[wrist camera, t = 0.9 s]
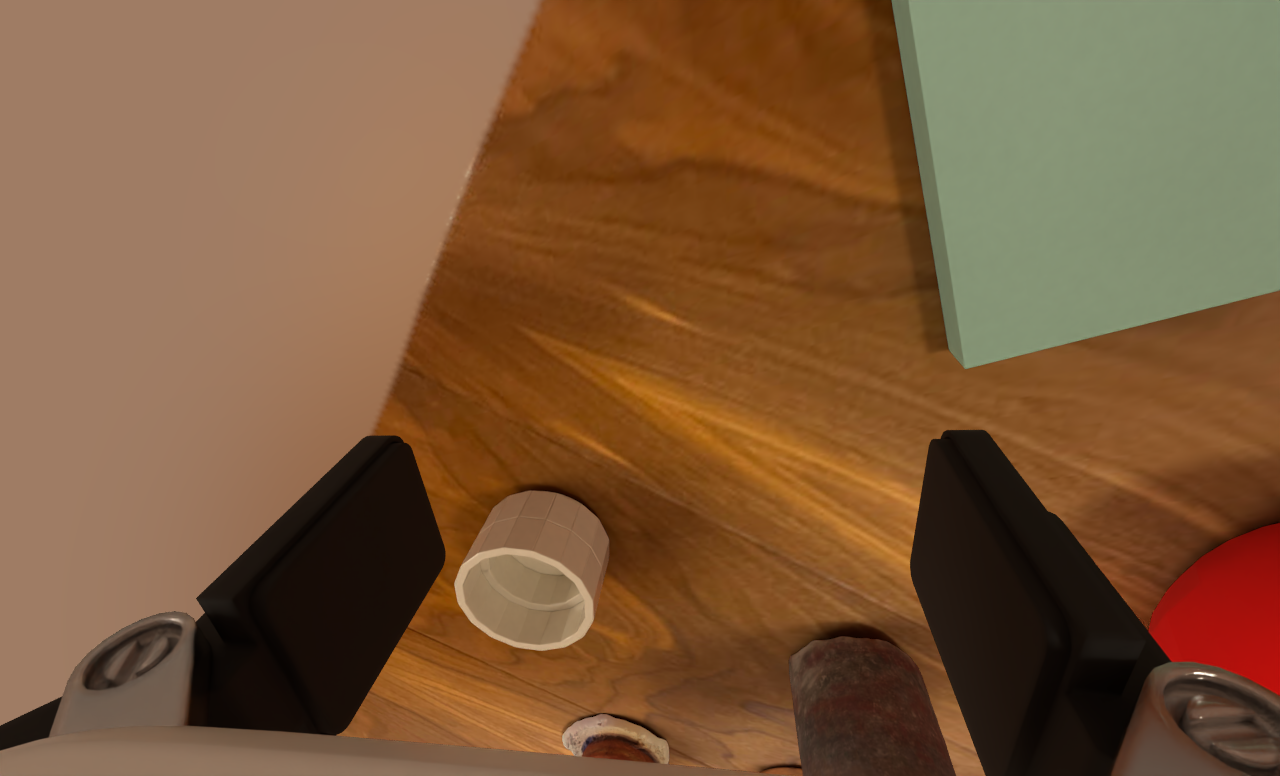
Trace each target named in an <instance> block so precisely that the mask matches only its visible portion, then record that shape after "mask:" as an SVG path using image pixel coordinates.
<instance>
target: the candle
mask: <svg viewBox="0 0 1280 776" xmlns="http://www.w3.org/2000/svg"><path fill="white" fill-rule="evenodd" d="M789 674H790V683H791V690H792V696H793V706H794V715H795V722H796V730H797V738H798V745H799V753H800V759H801V766H802V773H803V776H956V774H955V771H954V768H953V765H952V762H951V759H950V756H949V753H948V750H947V746H946V743H945V741H944V738H943V735H942V733H941V730H940V727H939V724H938V721H937V718H936V715H935V712H934V710H933V707H932V704H931V701H930V698H929V695H928V692H927V689H926V686H925V683H924V681H923V678H922V675H921V673H920V670H919V668H918V667H917V665H916V664H915V663H914V661H913V660H912V659H911V658H910V657H909V656H908V655H907V654H906V653H904V652H903V651H901V650H900V649H899V648H897V647H896V646H894V645H892V644H891V643H889V642H887V641H882V640H879V639H869V638H852V637H846V636H840V637H837V638H833V639H828V640H813V641H812V642H810V643H809V644H808V645H807V646H806V647H804V648H802V649H801V650H800V651H798V652H797V653H795V654H793V655H791V657H790V659H789Z"/></svg>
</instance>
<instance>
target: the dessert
mask: <svg viewBox="0 0 1280 776" xmlns="http://www.w3.org/2000/svg"><path fill="white" fill-rule="evenodd" d="M562 741H563V744H564V746H565V748H566V749H568V750H571V752H572V753H573V754H574V756H581V757H593V758H604V759H615V760H627V761H638V762H649V763H660V764H668V762H669V747H668V743H667V741H666V740H663V739H662V738H661V739H659V738H658V737H656V736H655V735H653V734H652V733H651V732H649V731H648V730H646V729H645V728H642V727H641V726H638V725H635V724H633V723H630V722H627V721H626V720H622V719H621V720H620V719H616V718H614V717H611V716H609V715H608V714H600V715H597V716H594V717H590V718H585V719H583V720H581V721H577V722H575V723H574V724H573V725H572V726H571V727H568V729H567V730H566V731H565V732H564V734H563V736H562Z"/></svg>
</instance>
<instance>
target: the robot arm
mask: <svg viewBox="0 0 1280 776" xmlns="http://www.w3.org/2000/svg"><path fill="white" fill-rule="evenodd" d="M444 562H445V547H444V544H443V541H442V538H441V535H440V532H439V529H438V526H437V523H436V520H435V517H434V514H433V511H432V508H431V505H430V502H429V499H428V496H427V493H426V490H425V487H424V484H423V481H422V478H421V475H420V472H419V469H418V466H417V463H416V460H415V457H414V454H413V451H412V449H411V447H410V446H409V444H407V443H404V442H403V440H402V439H401V438H400V437H398V436H366V437H365V438H363V439H362V440H361V441H360V442H359V443H358V444H357V445H356V446H355V447H353V448H352V449H351V450H350V451H349V452H348V453H347V454H346V455H345V456H344V457H343V458H342V459H341V460H340V461H339V462H338V463H337V464H336V465H335V466H334V467H333V468H332V469H331V470H330V471H329V472H327V473H326V474H325V475H324V476H323V477H322V478H321V479H320V480H319V481H318V482H317V483H316V484H315V485H314V486H313V487H312V488H311V489H310V490H309V491H308V492H307V493H306V494H304V495H303V496H302V497H301V498H300V499H299V500H298V501H297V502H296V503H295V504H294V505H293V506H292V507H291V508H290V509H289V510H288V511H287V512H286V513H285V514H284V515H283V516H282V517H280V518H279V519H278V520H277V521H276V522H275V523H274V524H273V525H272V526H271V527H270V528H269V529H268V530H267V531H266V532H265V533H264V534H263V535H262V536H261V537H260V538H259V539H258V540H256V541H255V542H254V544H252V545H251V546H250V547H249V548H248V549H247V550H246V551H245V552H244V553H243V554H242V555H241V556H240V557H239V558H238V559H237V560H236V561H235V562H233V563H232V564H231V565H230V566H229V567H228V568H227V569H226V570H225V571H224V572H223V573H222V574H221V575H220V576H219V577H218V578H217V579H216V580H215V581H214V582H213V583H212V584H211V585H209V586H208V587H207V588H206V589H205V590H204V591H203V592H202V593H201V594H200V595H199V596H198V597H197V598H196V599H197V601H198V602H199V604H200V605H201V607H202V608H203V610H204V611H205V613H204V614H203V616H201V617H200V618H199V619H198V620H197V621H196V622H195V620H194V618H192V617H191V616H190V615H188V614H187V613H183V612H176V611H174V612H166V613H159V614H156V615H153V616H150V617H147V618H144V619H141V620H139V621H137V622H135V623H133V624H131V625H129V626H126V627H125V628H123V629H121V630H119V631H118V632H116V633H115V634H113V635H111V636H110V637H108V638H107V639H105V640H104V641H102V642H101V643H100V644H99V645H98V646H96V647H95V648H94V649H93V650H91V651H90V652H89V653H88V654H87V655H86V656H85V657H84V658H83V659H82V661H81V662H80V663H79V664H78V665H77V666H76V667H75V669H74V671H73V673H72V674H71V676H70V678H69V680H68V682H67V685H66V688H65V691H64V694H63V696H62V697H60V698H58V699H56V700H54V701H52V702H50V703H48V704H45V705H43V706H41V707H39V708H37V709H35V710H33V711H30V712H28V713H26V714H24V715H22V716H20V717H18V718H16V719H14V720H12V721H9V722H7V723H5V724H3V725H1V726H0V776H790V775H779V774H768V773H757V772H747V771H736V770H725V769H714V768H704V767H693V766H682V765H671V764H660V763H649V762H638V761H627V760H615V759H604V758H593V757H581V756H570V755H558V754H547V753H536V752H524V751H512V750H501V749H489V748H477V747H466V746H454V745H443V744H430V743H418V742H406V741H393V740H381V739H369V738H356V737H344V736H336V735H337V734H339V733H342V732H343V731H344V730H345V729H346V728H347V727H348V725H349V724H350V722H351V721H352V719H353V717H354V716H355V714H356V712H357V711H358V709H359V707H360V706H361V704H362V702H363V701H364V699H365V697H366V695H367V694H368V692H369V690H370V689H371V687H372V685H373V684H374V682H375V680H376V679H377V677H378V675H379V674H380V672H381V670H382V669H383V667H384V665H385V664H386V662H387V660H388V659H389V657H390V655H391V653H392V652H393V650H394V648H395V647H396V645H397V643H398V642H399V640H400V638H401V637H402V635H403V633H404V632H405V630H406V628H407V627H408V625H409V623H410V622H411V620H412V618H413V616H414V615H415V613H416V611H417V610H418V608H419V606H420V605H421V603H422V601H423V600H424V598H425V596H426V595H427V593H428V591H429V590H430V588H431V586H432V585H433V583H434V581H435V580H436V578H437V576H438V574H439V573H440V571H441V569H442V567H443V565H444ZM910 570H911V577H912V581H913V584H914V587H915V590H916V592H917V595H918V598H919V600H920V603H921V606H922V608H923V611H924V614H925V616H926V619H927V621H928V624H929V627H930V629H931V632H932V635H933V637H934V640H935V643H936V645H937V648H938V651H939V653H940V656H941V659H942V661H943V664H944V667H945V669H946V672H947V675H948V677H949V680H950V682H951V685H952V688H953V690H954V693H955V696H956V698H957V701H958V704H959V706H960V709H961V712H962V714H963V717H964V720H965V722H966V725H967V728H968V730H969V733H970V735H971V738H972V741H973V743H974V746H975V749H976V751H977V754H978V757H979V759H980V762H981V765H982V767H983V770H984V773H985V775H986V776H1280V696H1279V695H1277V694H1276V693H1274V692H1272V691H1271V690H1269V689H1267V688H1265V687H1263V686H1261V685H1259V684H1257V683H1256V682H1254V681H1252V680H1250V679H1248V678H1246V677H1243V676H1241V675H1238V674H1235V673H1233V672H1230V671H1227V670H1225V669H1222V668H1219V667H1216V666H1211V665H1206V664H1201V663H1196V662H1172V661H1171V660H1170V659H1169V658H1168V656H1167V655H1166V654H1165V652H1164V651H1163V650H1162V649H1161V647H1160V646H1159V645H1158V643H1157V642H1156V641H1155V640H1154V638H1153V637H1152V636H1151V634H1150V633H1149V632H1148V631H1147V629H1146V628H1145V627H1144V625H1143V624H1142V623H1141V622H1140V620H1139V619H1138V618H1137V616H1136V615H1135V614H1134V613H1133V611H1132V610H1131V609H1130V607H1129V606H1128V605H1127V604H1126V602H1125V601H1124V600H1123V598H1122V597H1121V596H1120V595H1119V593H1118V592H1117V591H1116V589H1115V588H1114V587H1113V586H1112V584H1111V583H1110V582H1109V580H1108V579H1107V578H1106V577H1105V575H1104V574H1103V573H1102V571H1101V570H1100V569H1099V568H1098V566H1097V565H1096V564H1095V562H1094V561H1093V560H1092V559H1091V557H1090V556H1089V555H1088V553H1087V552H1086V551H1085V550H1084V548H1083V547H1082V546H1081V544H1080V543H1079V542H1078V541H1077V539H1076V538H1075V537H1074V535H1073V534H1072V533H1071V532H1070V530H1069V529H1068V528H1067V526H1066V525H1065V524H1064V523H1063V521H1062V520H1061V519H1060V518H1059V517H1058V516H1057V515H1056V514H1053V513H1051V512H1048V511H1047V510H1046V509H1045V507H1044V506H1043V505H1042V503H1041V502H1040V501H1039V499H1038V498H1037V497H1036V495H1035V494H1034V493H1033V491H1032V490H1031V489H1030V488H1029V486H1028V485H1027V484H1026V482H1025V481H1024V480H1023V478H1022V477H1021V476H1020V474H1019V473H1018V472H1017V470H1016V469H1015V468H1014V466H1013V465H1012V464H1011V463H1010V461H1009V460H1008V459H1007V457H1006V456H1005V455H1004V453H1003V452H1002V451H1001V449H1000V448H999V447H998V445H997V444H996V443H995V442H994V440H993V439H992V438H991V436H990V435H989V434H988V433H987V432H986V431H984V430H946V431H945V432H943V434H942V436H941V439H933V440H931V442H930V445H929V449H928V455H927V461H926V468H925V474H924V480H923V486H922V492H921V498H920V504H919V511H918V517H917V523H916V529H915V535H914V541H913V547H912V554H911V561H910Z"/></svg>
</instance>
